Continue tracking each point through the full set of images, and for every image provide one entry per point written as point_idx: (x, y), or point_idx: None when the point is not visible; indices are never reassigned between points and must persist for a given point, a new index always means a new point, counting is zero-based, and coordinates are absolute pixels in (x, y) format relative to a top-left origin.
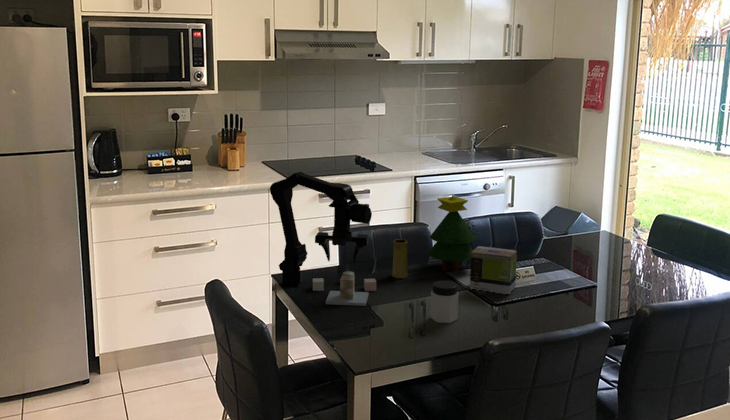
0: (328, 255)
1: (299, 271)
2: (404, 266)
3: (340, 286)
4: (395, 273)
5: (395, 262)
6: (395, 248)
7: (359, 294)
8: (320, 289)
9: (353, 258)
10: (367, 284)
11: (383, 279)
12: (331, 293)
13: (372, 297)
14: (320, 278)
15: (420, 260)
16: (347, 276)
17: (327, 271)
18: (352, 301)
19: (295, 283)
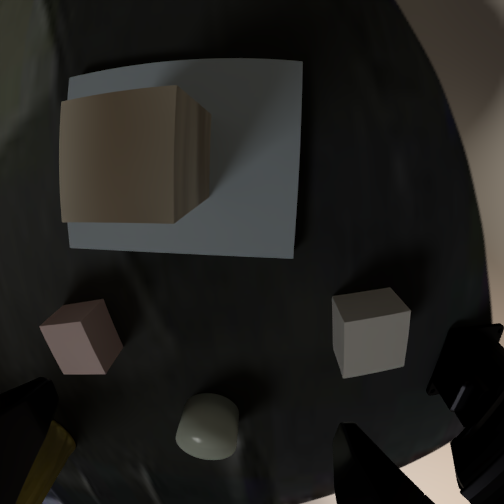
0: (369, 476)
1: (464, 400)
2: None
3: (191, 99)
4: (50, 433)
5: (35, 462)
6: (16, 501)
7: None
8: (351, 296)
9: (18, 403)
10: (78, 316)
11: (85, 419)
12: (280, 206)
13: (57, 210)
14: (361, 373)
15: (67, 496)
16: (116, 205)
17: (310, 481)
18: (133, 81)
19: (461, 345)
